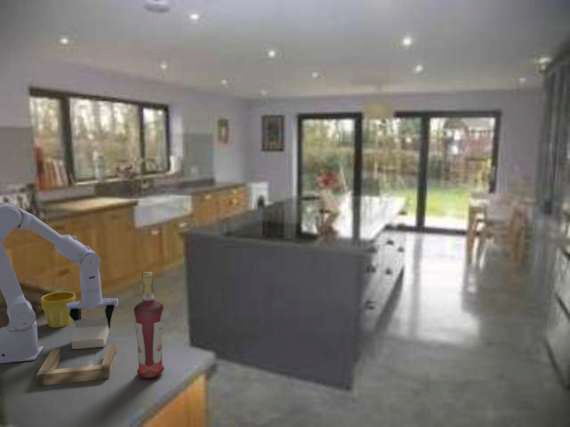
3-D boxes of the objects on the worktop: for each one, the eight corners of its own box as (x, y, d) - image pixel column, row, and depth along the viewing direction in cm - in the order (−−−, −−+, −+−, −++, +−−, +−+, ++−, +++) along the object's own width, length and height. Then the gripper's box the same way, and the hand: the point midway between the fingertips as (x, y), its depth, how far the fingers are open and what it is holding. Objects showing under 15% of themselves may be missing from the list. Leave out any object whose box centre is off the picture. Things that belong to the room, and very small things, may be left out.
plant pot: (83, 318, 151) (81, 291, 149) (65, 331, 140) (63, 302, 139) (55, 316, 152) (53, 290, 150) (35, 329, 141) (33, 300, 140)
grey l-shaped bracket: (73, 351, 128) (69, 334, 126) (79, 335, 135) (75, 319, 132) (105, 348, 130) (102, 332, 127) (109, 332, 136) (106, 317, 133)
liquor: (164, 380, 112) (161, 276, 108) (134, 383, 111) (130, 278, 106) (165, 366, 119) (163, 268, 115) (138, 368, 118) (134, 269, 113)
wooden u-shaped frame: (37, 385, 109) (36, 374, 108) (52, 359, 122) (52, 349, 122) (109, 378, 113) (108, 367, 112) (116, 353, 126) (116, 343, 126)
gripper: (62, 295, 127) (67, 337, 130) (114, 290, 131) (118, 332, 133) (68, 287, 134) (72, 327, 137) (117, 282, 137) (121, 322, 140)
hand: (95, 329), depth 135 cm, fingers open, 7 cm apart
